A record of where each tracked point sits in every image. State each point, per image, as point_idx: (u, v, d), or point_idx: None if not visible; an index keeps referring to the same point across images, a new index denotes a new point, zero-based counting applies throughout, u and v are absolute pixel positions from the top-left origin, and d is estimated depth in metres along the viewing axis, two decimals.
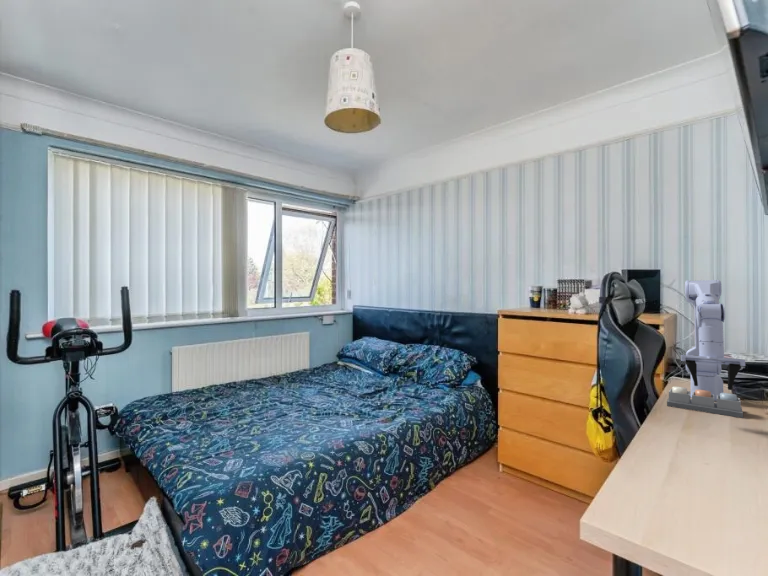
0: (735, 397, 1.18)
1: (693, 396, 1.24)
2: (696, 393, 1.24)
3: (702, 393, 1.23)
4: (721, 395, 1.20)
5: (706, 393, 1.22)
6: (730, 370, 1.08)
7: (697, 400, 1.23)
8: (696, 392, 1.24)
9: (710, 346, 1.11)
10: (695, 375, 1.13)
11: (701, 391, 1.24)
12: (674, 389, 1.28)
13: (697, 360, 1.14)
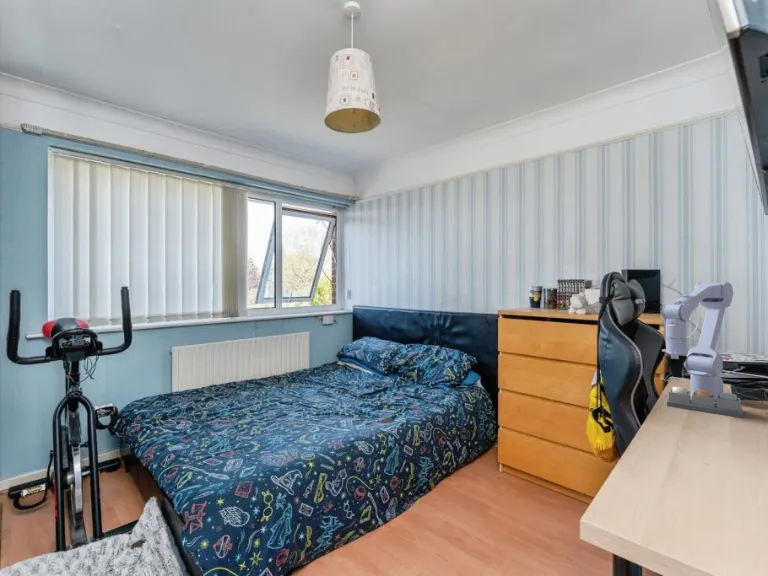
0: (735, 397, 1.18)
1: (693, 396, 1.24)
2: (696, 393, 1.24)
3: (702, 393, 1.23)
4: (721, 395, 1.20)
5: (706, 393, 1.22)
6: None
7: (697, 400, 1.23)
8: (696, 392, 1.24)
9: None
10: None
11: (701, 391, 1.24)
12: (674, 389, 1.28)
13: None
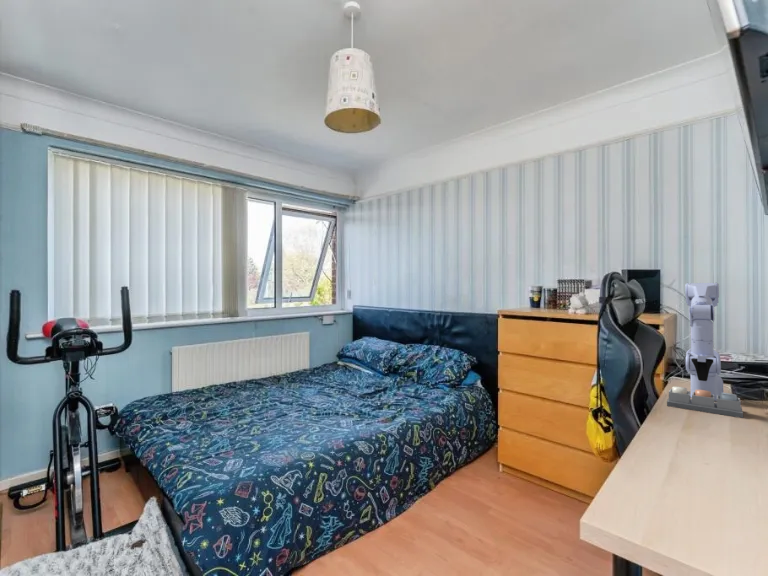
0: (735, 397, 1.18)
1: (693, 396, 1.24)
2: (696, 393, 1.24)
3: (702, 393, 1.23)
4: (721, 395, 1.20)
5: (706, 393, 1.22)
6: None
7: (697, 400, 1.23)
8: (696, 392, 1.24)
9: (691, 343, 1.26)
10: (696, 370, 1.26)
11: (701, 391, 1.24)
12: (674, 389, 1.28)
13: None
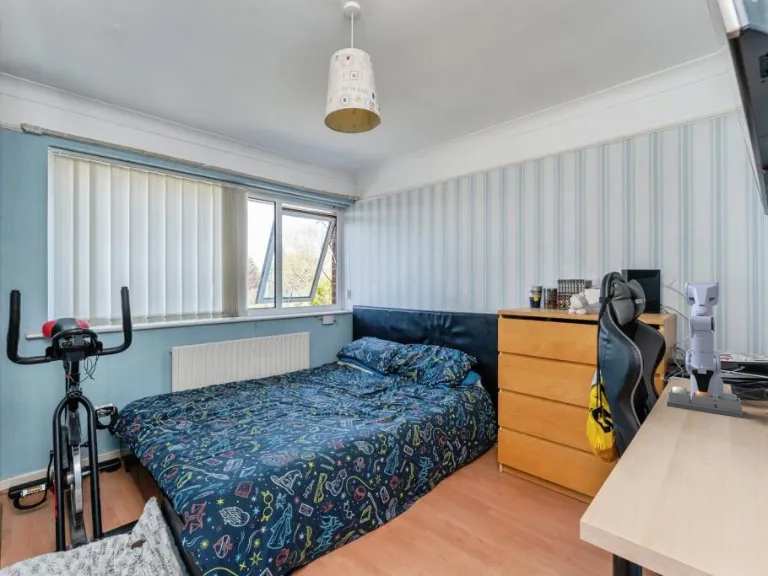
0: (735, 397, 1.18)
1: (693, 396, 1.24)
2: (696, 393, 1.24)
3: (702, 393, 1.23)
4: (721, 395, 1.20)
5: (706, 394, 1.22)
6: None
7: (697, 400, 1.23)
8: (696, 392, 1.24)
9: None
10: None
11: None
12: (674, 389, 1.28)
13: None
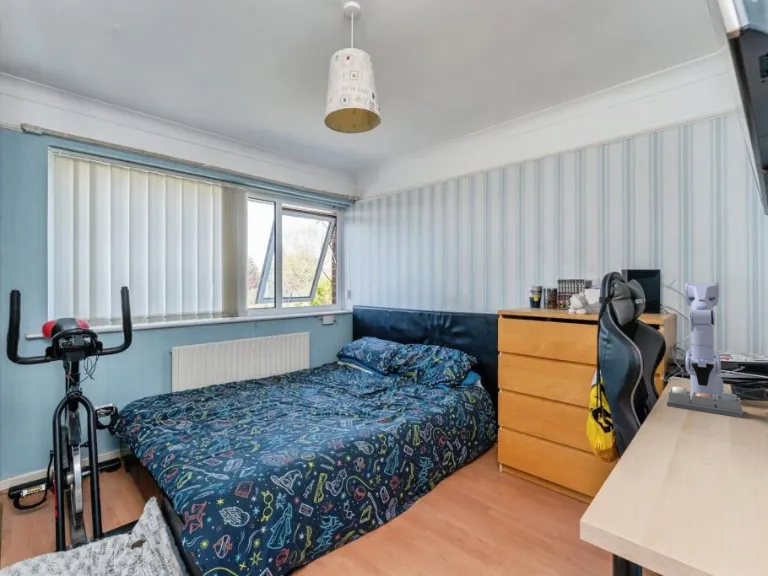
0: (735, 397, 1.18)
1: (693, 396, 1.24)
2: None
3: None
4: (721, 395, 1.20)
5: (706, 396, 1.22)
6: None
7: (697, 400, 1.23)
8: (696, 395, 1.24)
9: None
10: None
11: (701, 394, 1.24)
12: (674, 389, 1.28)
13: None
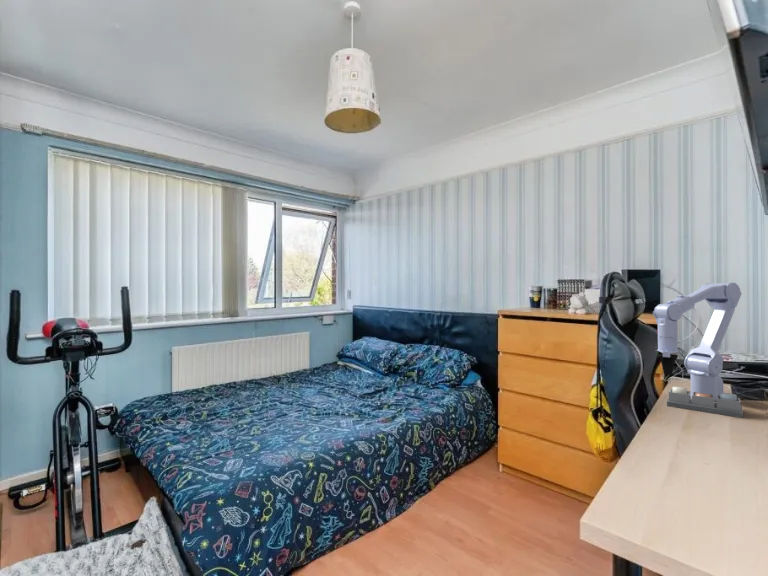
0: (735, 397, 1.18)
1: (693, 396, 1.24)
2: None
3: None
4: (721, 395, 1.20)
5: (706, 396, 1.22)
6: None
7: (697, 400, 1.23)
8: (696, 395, 1.24)
9: None
10: None
11: (701, 394, 1.24)
12: (674, 389, 1.28)
13: None
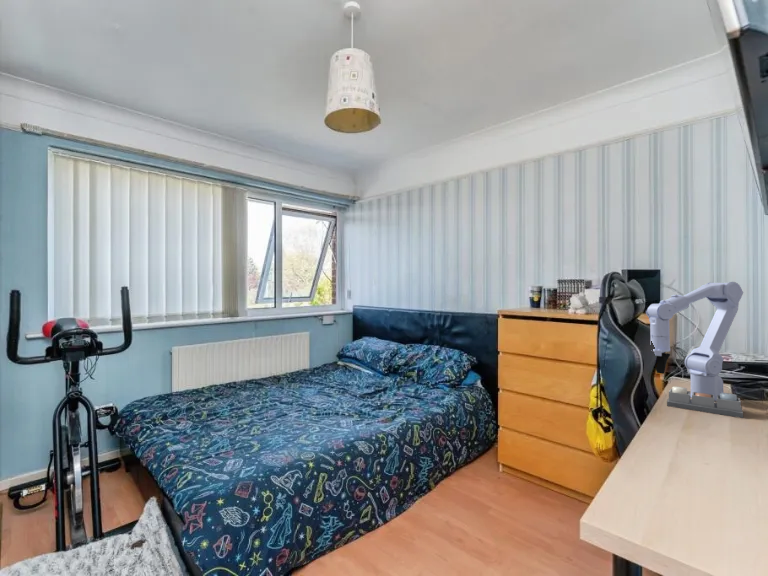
0: (735, 397, 1.18)
1: (693, 396, 1.24)
2: None
3: None
4: (721, 395, 1.20)
5: (706, 396, 1.22)
6: None
7: (697, 400, 1.23)
8: (696, 395, 1.24)
9: None
10: None
11: (701, 394, 1.24)
12: (674, 389, 1.28)
13: None
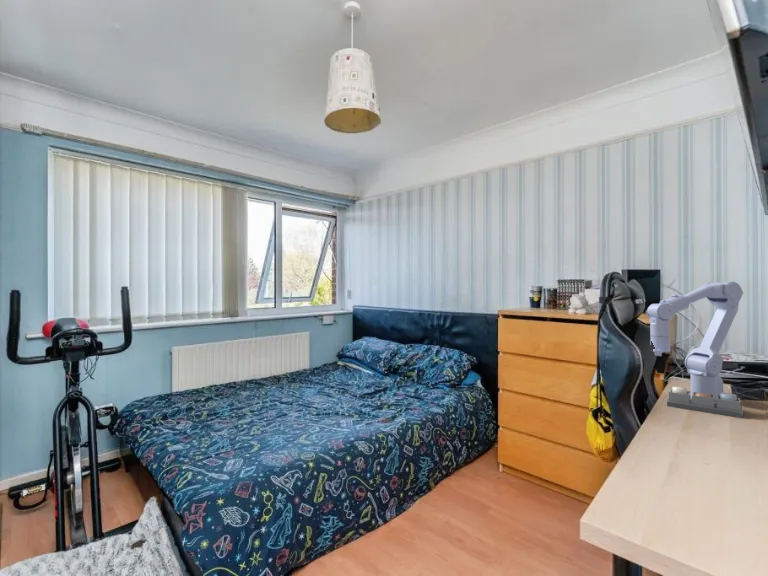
0: (735, 397, 1.18)
1: (693, 396, 1.24)
2: None
3: None
4: (721, 395, 1.20)
5: (706, 396, 1.22)
6: None
7: (697, 400, 1.23)
8: (696, 395, 1.24)
9: None
10: None
11: (701, 394, 1.24)
12: (674, 389, 1.28)
13: None
